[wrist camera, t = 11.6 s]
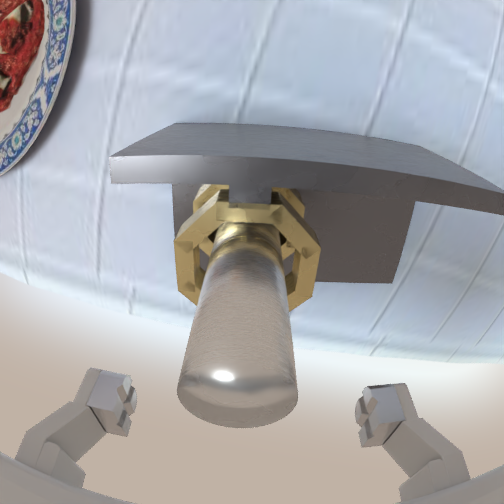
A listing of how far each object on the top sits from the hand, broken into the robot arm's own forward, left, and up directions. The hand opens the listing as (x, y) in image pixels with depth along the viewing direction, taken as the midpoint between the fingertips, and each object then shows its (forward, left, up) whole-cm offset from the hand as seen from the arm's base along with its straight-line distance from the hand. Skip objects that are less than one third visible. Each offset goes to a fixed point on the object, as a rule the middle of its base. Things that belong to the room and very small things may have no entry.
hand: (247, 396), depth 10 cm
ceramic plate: (+27, -16, -19) cm, 37 cm away
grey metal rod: (0, 0, -17) cm, 17 cm away
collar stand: (-4, 0, -18) cm, 18 cm away
